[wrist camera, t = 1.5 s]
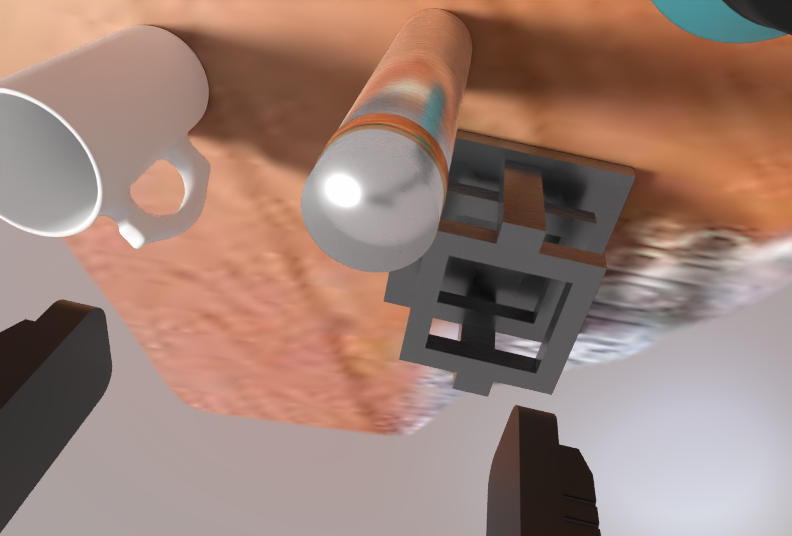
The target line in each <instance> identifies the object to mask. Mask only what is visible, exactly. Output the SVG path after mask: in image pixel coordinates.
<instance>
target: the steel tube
mask: <svg viewBox="0 0 792 536" xmlns="http://www.w3.org/2000/svg"><path fill="white" fill-rule="evenodd" d="M471 57H472V40H471V36H470V33H469V31H468V29H467V27H466V26H465V24H464V23H463V22H462V21H461V20H460V19H459V18H458V17H457V16H455V15H454V14H452V13H450V12H448V11H445V10H442V9H426V10H423V11H420V12H418V13H416V14H414V15H413V16H411V17H410V18H409V19H408V20H407V21H406V22H405V23H404V25H403V26H402V27H401V29H400V31H399V32H398V34H397V35H396V37H395V39H394V40H393V42H392V43H391V45H390V47H389V48H388V50H387V51H386V53H385V55H384V56H383V58H382V59H381V61H380V63H379V64H378V66H377V68H376V69H375V71H374V72H373V74H372V76H371V77H370V79H369V80H368V82H367V84H366V85H365V87H364V88H363V90H362V92H361V93H360V95H359V96H358V98H357V100H356V101H355V103H354V104H353V106H352V108H351V109H350V111H349V112H348V114H347V116H346V117H345V119H344V120H343V122H342V124H341V125H340V127H339V128H338V130H337V131H336V132H335V133H334V134H333V136H332V137H331V138H330V140H329V141H328V143H327V145H326V146H325V148H324V149H323V151H322V153H321V154H320V156H319V158H318V160H317V162H316V164H315V167H314V169H313V170H312V172H311V173H310V175H309V177H308V179H307V181H306V183H305V185H304V188H303V192H302V198H301V209H302V216H303V220H304V223H305V226H306V228H307V230H308V232H309V234H310V236H311V237H312V239H313V240H314V241H315V243H316V244H317V245H318V246H319V247H320V248H321V249H322V250H323V251H324V252H325V253H326V254H327V255H328V256H330V257H331V258H333V259H334V260H336V261H337V262H339V263H341V264H343V265H345V266H348V267H350V268H353V269H357V270H360V271H366V272H389V271H394V270H398V269H401V268H404V267H406V266H408V265H410V264H412V263H413V262H415V261H417V260H418V259H419V258H420V257H422V256H423V255H424V253H425V252H426V251H427V250H428V249H429V247H430V246H431V245H432V243H433V241H434V239H435V237H436V234H437V230H438V226H439V221H440V216H441V214H442V211H443V208H444V204H445V198H446V193H447V188H448V182H449V170H450V164H451V159H452V154H453V149H454V144H455V139H456V134H457V129H458V123H459V118H460V113H461V108H462V103H463V98H464V93H465V88H466V82H467V77H468V72H469V67H470V62H471Z"/></svg>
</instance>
